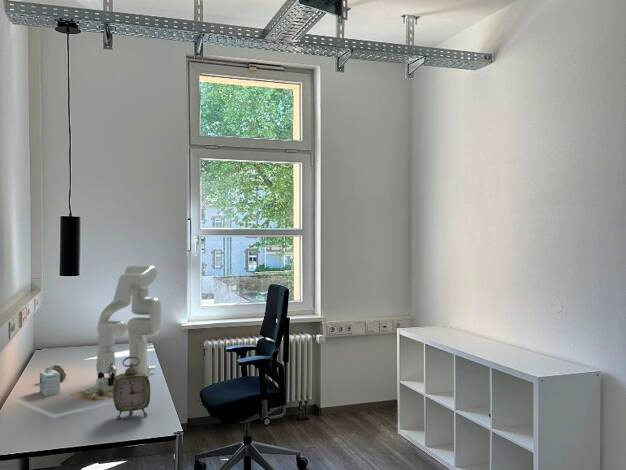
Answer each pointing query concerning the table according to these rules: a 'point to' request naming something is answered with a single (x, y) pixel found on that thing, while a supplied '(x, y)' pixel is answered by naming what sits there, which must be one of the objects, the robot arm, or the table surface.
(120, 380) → the tabletop clock
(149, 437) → the table surface
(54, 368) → the carved stone stamp
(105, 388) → the hollow frame with stem
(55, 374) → the light bulb box
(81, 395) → the board
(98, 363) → the robot arm
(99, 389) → the post
